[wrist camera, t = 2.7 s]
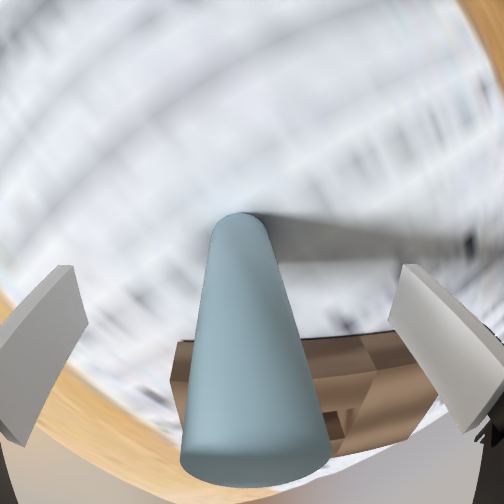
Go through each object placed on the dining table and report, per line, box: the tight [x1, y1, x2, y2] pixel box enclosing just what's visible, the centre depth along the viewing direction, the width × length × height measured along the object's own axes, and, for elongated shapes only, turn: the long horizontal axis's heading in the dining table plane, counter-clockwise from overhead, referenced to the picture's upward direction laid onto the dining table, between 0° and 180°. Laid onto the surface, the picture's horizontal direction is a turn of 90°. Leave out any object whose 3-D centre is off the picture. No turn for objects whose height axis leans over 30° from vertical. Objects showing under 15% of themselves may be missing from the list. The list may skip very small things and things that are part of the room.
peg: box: [180, 213, 332, 488], centre depth 10 cm, size 3×3×12 cm
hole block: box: [170, 332, 439, 458], centre depth 20 cm, size 12×20×4 cm, turn 89°
